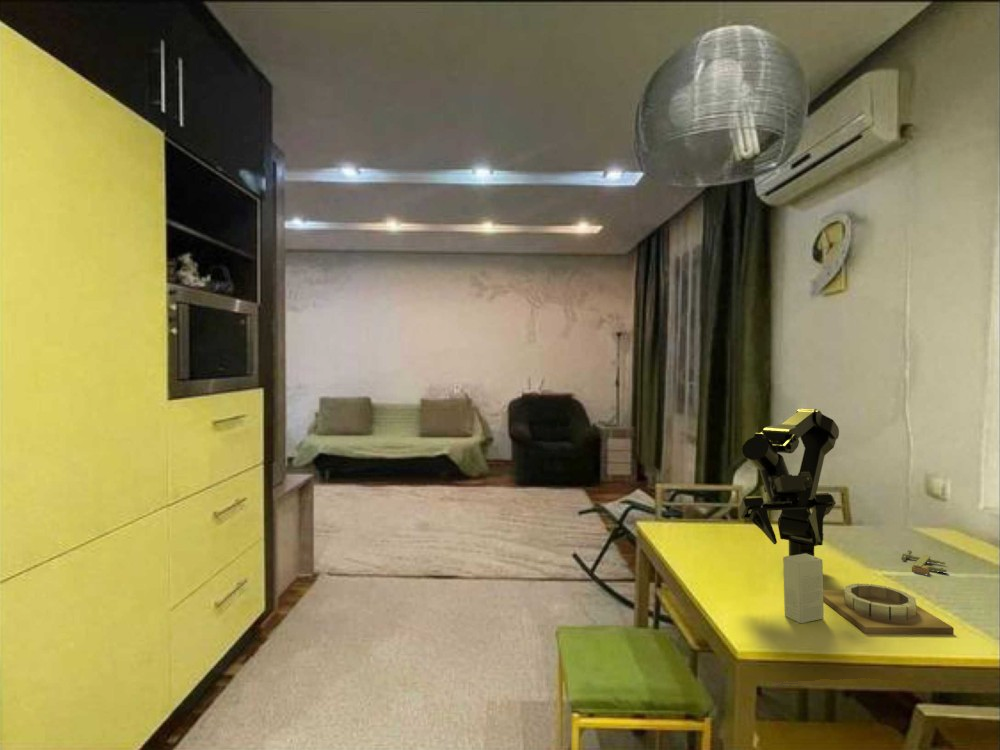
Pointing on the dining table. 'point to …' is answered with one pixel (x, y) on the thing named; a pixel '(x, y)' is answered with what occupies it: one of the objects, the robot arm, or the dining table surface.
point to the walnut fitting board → (872, 625)
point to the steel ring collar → (877, 610)
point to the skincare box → (803, 587)
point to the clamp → (922, 563)
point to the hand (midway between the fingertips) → (798, 542)
